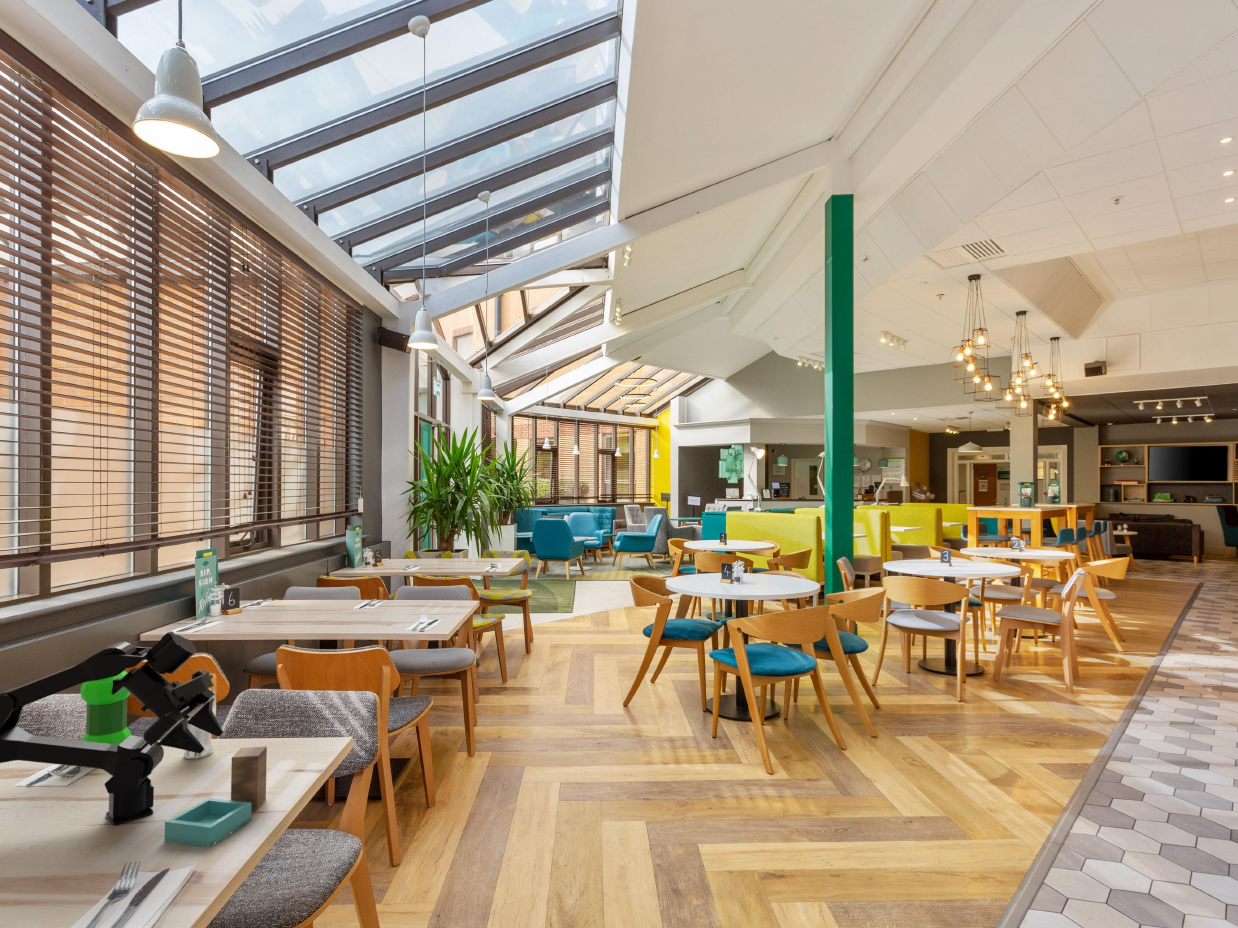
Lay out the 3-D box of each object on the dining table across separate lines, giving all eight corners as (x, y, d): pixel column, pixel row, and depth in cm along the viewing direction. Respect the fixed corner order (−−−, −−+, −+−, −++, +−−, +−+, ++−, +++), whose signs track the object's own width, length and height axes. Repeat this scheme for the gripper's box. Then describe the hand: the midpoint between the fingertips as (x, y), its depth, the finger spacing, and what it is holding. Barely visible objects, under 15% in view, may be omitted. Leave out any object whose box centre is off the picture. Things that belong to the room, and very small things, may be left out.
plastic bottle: (123, 745, 172) (126, 646, 173) (137, 755, 165) (139, 652, 166) (74, 757, 164) (77, 653, 165) (86, 768, 158) (89, 660, 159)
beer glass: (203, 760, 162) (204, 697, 163) (174, 760, 163) (176, 697, 163) (221, 749, 169) (222, 688, 170) (193, 748, 170) (195, 688, 170)
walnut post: (230, 812, 136) (231, 757, 137) (240, 801, 141) (241, 747, 142) (257, 810, 137) (258, 755, 137) (265, 799, 142) (266, 746, 142)
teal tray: (164, 840, 125) (164, 821, 125) (207, 815, 135) (208, 797, 135) (210, 846, 123) (210, 827, 123) (251, 820, 133) (251, 802, 133)
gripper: (163, 673, 129) (224, 728, 130) (205, 650, 147) (258, 699, 149) (116, 717, 127) (178, 773, 129) (164, 688, 146) (219, 737, 147)
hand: (212, 742), depth 138 cm, fingers open, 9 cm apart
